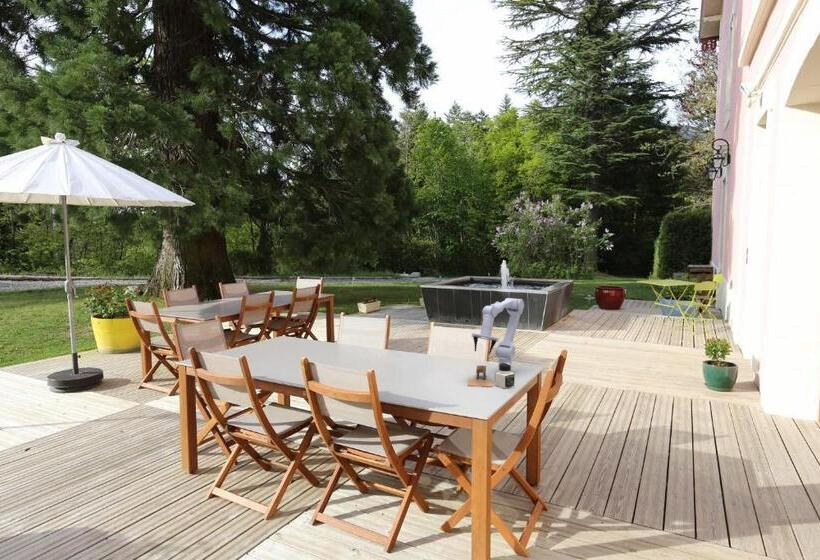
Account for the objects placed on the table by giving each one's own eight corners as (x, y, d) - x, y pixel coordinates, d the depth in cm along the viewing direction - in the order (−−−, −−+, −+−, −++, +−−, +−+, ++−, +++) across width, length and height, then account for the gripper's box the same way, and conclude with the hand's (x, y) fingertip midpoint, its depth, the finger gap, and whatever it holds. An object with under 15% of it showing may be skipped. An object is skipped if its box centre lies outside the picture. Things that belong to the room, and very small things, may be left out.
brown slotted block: (476, 379, 290) (476, 369, 289) (477, 375, 298) (477, 365, 297) (485, 380, 289) (485, 369, 288) (486, 376, 297) (486, 365, 296)
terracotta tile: (468, 380, 289) (468, 379, 289) (492, 381, 287) (492, 380, 287) (467, 386, 278) (467, 385, 278) (492, 387, 276) (492, 386, 276)
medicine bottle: (505, 389, 273) (505, 366, 272) (495, 385, 278) (495, 363, 277) (514, 386, 277) (514, 364, 276) (504, 383, 283) (504, 361, 281)
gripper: (473, 324, 282) (468, 349, 280) (500, 329, 279) (495, 355, 277) (473, 325, 288) (469, 350, 286) (500, 330, 286) (495, 355, 284)
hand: (482, 352), depth 282 cm, fingers open, 7 cm apart
